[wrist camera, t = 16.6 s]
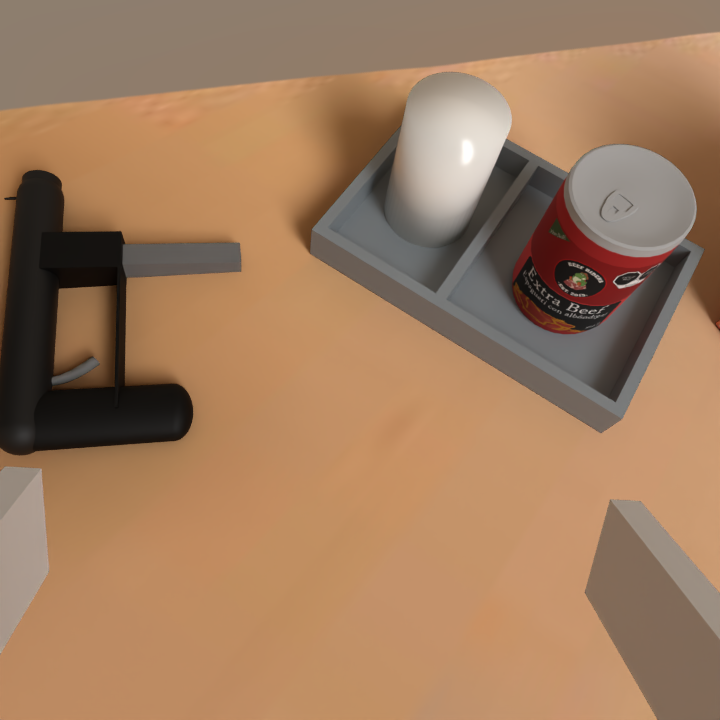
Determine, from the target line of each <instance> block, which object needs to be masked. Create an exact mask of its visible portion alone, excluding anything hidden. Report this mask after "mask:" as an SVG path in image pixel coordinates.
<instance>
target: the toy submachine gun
mask: <svg viewBox="0 0 720 720" xmlns="http://www.w3.org/2000/svg"><path fill="white" fill-rule="evenodd" d="M61 189H62V183H61V181H60V179H59V178H58V177H57V176H55V175H54V174H52V173H49V172H46V171H42V170H33V171H29V172H27V173H25V174H24V175H23V178H22V184H21V185H20V186H19V188H18V191H17V197H9V198H4V199H5V200H16V209H15V219H14V229H13V239H12V249H11V259H10V269H9V279H8V289H7V300H6V310H5V320H4V330H3V340H2V350H1V360H0V448H1V449H3V450H4V451H6V452H7V453H10V454H13V455H27V454H31V453H33V452H35V451H44V450H58V449H71V448H85V447H98V446H112V445H125V444H139V443H152V442H166V441H177V440H179V439H181V438H183V437H184V436H185V435H186V434H187V432H188V431H189V429H190V426H191V423H192V419H193V406H192V401H191V398H190V396H189V394H188V392H187V391H186V390H185V389H184V388H183V387H182V386H180V385H178V384H158V385H140V386H125V330H126V281H127V277H151V276H169V275H187V274H206V273H224V272H241V252H240V243H179V244H125V242H124V239H123V235H122V232H121V231H117V232H62V229H63V213H64V195H63V193H62V190H61ZM113 285H117V311H116V356H115V387H105V388H87V389H70V390H52V386H54V385H59V384H63V383H67V382H69V381H72V380H74V379H76V378H79V377H81V376H82V375H84V374H86V373H88V372H89V371H91V370H92V369H94V368H95V367H97V366H98V365H99V364H100V363H99V362H98V361H97V360H96V359H95V358H94V357H93V356H92V357H91V358H90V359H88V360H87V361H85V362H84V363H82V364H81V365H79V366H77V367H76V368H74V369H72V370H70V371H68V372H66V373H63V374H61V375H58V376H54V377H53V370H54V355H55V339H56V323H57V307H58V292H59V289H60V288H78V287H96V286H113Z"/></svg>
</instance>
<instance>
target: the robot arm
mask: <svg viewBox="0 0 720 720" xmlns="http://www.w3.org/2000/svg"><path fill="white" fill-rule="evenodd" d="M48 573H49V563H48V550H47V537H46V523H45V510H44V497H43V484H42V471H41V468H23V467H4V468H3V469H2V470H1V471H0V654H1V652H2V650H3V649H4V647H5V645H6V644H7V642H8V640H9V639H10V637H11V635H12V634H13V632H14V630H15V628H16V627H17V625H18V623H19V622H20V620H21V618H22V617H23V615H24V613H25V612H26V610H27V608H28V606H29V605H30V603H31V601H32V600H33V598H34V596H35V595H36V593H37V591H38V590H39V588H40V586H41V584H42V583H43V581H44V579H45V578H46V576H47V574H48ZM585 594H586V596H587V597H588V599H589V601H590V603H591V604H592V606H593V608H594V610H595V611H596V613H597V615H598V617H599V618H600V620H601V622H602V624H603V625H604V627H605V629H606V630H607V632H608V634H609V636H610V637H611V639H612V641H613V643H614V644H615V646H616V648H617V650H618V651H619V653H620V655H621V657H622V658H623V660H624V662H625V664H626V665H627V667H628V669H629V671H630V672H631V674H632V676H633V678H634V679H635V681H636V683H637V684H638V686H639V688H640V690H641V691H642V693H643V695H644V697H645V698H646V700H647V702H648V704H649V705H650V707H651V709H652V711H653V712H654V714H655V716H656V718H657V719H658V720H720V593H719V592H718V591H717V590H716V588H715V587H714V586H713V585H712V584H711V583H710V581H709V580H708V579H707V578H706V577H705V576H704V574H703V573H702V572H701V571H700V570H699V569H698V567H697V566H696V565H695V564H694V563H693V562H692V560H691V559H690V558H689V557H688V556H687V555H686V554H685V552H684V551H683V550H682V549H681V548H680V547H679V545H678V544H677V543H676V542H675V541H674V540H673V538H672V537H671V536H670V535H669V534H668V533H667V531H666V530H665V529H664V528H663V527H662V526H661V524H660V523H659V522H658V521H657V520H656V519H655V517H654V516H653V515H652V514H651V513H650V512H649V510H648V509H647V508H646V507H645V506H644V505H643V503H642V502H641V501H630V500H611V499H610V502H609V505H608V509H607V513H606V516H605V520H604V524H603V528H602V531H601V535H600V539H599V542H598V546H597V550H596V553H595V557H594V561H593V564H592V568H591V572H590V575H589V579H588V583H587V586H586V590H585Z"/></svg>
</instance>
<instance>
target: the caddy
mask: <svg viewBox="0 0 720 720" xmlns="http://www.w3.org/2000/svg"><path fill="white" fill-rule="evenodd" d="M401 126H402V125H401ZM401 126H400V127H399V128H398V130H397V131H396V132H395V133H394V134H393V135H392V137H391V138H390V139H389V140H388V141H387V142H386V144H385V145H384V146H383V147H382V148H381V149H380V150H379V152H378V153H377V154H376V155H375V156H374V157H373V159H372V160H371V161H370V162H369V163H368V164H367V166H366V167H365V168H364V169H363V170H362V171H361V173H360V174H359V175H358V176H357V177H356V178H355V180H354V181H353V182H352V183H351V184H350V185H349V187H348V188H347V189H346V190H345V191H344V192H343V194H342V195H341V196H340V197H339V198H338V199H337V200H336V202H335V203H334V204H333V205H332V206H331V207H330V209H329V210H328V211H327V212H326V213H325V214H324V216H323V217H322V218H321V219H320V220H319V221H318V223H317V224H316V225H315V226H314V227H313V228H312V231H311V248H310V254H312V255H313V256H315V257H316V258H318V259H320V260H321V261H323V262H325V263H326V264H328V265H329V266H331V267H333V268H334V269H336V270H338V271H339V272H341V273H342V274H344V275H346V276H347V277H349V278H351V279H352V280H354V281H355V282H357V283H359V284H360V285H362V286H363V287H365V288H367V289H368V290H370V291H372V292H373V293H375V294H376V295H378V296H380V297H381V298H383V299H385V300H386V301H388V302H389V303H391V304H393V305H394V306H396V307H398V308H399V309H401V310H402V311H404V312H406V313H407V314H409V315H410V316H412V317H414V318H415V319H417V320H419V321H420V322H422V323H423V324H425V325H427V326H428V327H430V328H432V329H433V330H435V331H436V332H438V333H440V334H441V335H443V336H445V337H446V338H448V339H449V340H451V341H453V342H454V343H456V344H457V345H459V346H461V347H462V348H464V349H466V350H467V351H469V352H470V353H472V354H474V355H475V356H477V357H479V358H480V359H482V360H483V361H485V362H487V363H488V364H490V365H491V366H493V367H495V368H496V369H498V370H500V371H501V372H503V373H504V374H506V375H508V376H509V377H511V378H513V379H514V380H516V381H517V382H519V383H521V384H522V385H524V386H526V387H527V388H529V389H530V390H532V391H534V392H535V393H537V394H538V395H540V396H542V397H543V398H545V399H547V400H548V401H550V402H551V403H553V404H555V405H556V406H558V407H560V408H561V409H563V410H564V411H566V412H568V413H569V414H571V415H573V416H574V417H576V418H577V419H579V420H581V421H582V422H584V423H585V424H587V425H589V426H590V427H592V428H594V429H595V430H597V431H598V432H600V433H602V432H604V431H605V430H607V429H608V428H610V427H611V426H613V425H614V424H616V423H617V422H618V421H620V420H621V419H622V418H623V416H624V414H625V412H626V410H627V408H628V406H629V404H630V402H631V400H632V398H633V396H634V394H635V392H636V390H637V388H638V386H639V383H640V381H641V379H642V377H643V375H644V373H645V371H646V369H647V367H648V365H649V363H650V361H651V359H652V357H653V355H654V353H655V351H656V349H657V346H658V344H659V342H660V340H661V338H662V336H663V334H664V332H665V330H666V328H667V326H668V324H669V322H670V320H671V318H672V316H673V314H674V312H675V310H676V307H677V305H678V303H679V301H680V299H681V297H682V295H683V293H684V291H685V289H686V287H687V285H688V283H689V281H690V279H691V277H692V275H693V273H694V271H695V268H696V266H697V264H698V262H699V260H700V258H701V256H702V254H703V252H704V250H705V249H703V248H702V247H700V246H698V245H696V244H694V243H693V242H691V241H689V240H687V239H685V238H684V239H683V241H682V242H681V243H680V244H679V245H678V246H677V247H676V248H675V249H674V250H673V252H672V253H671V254H670V255H669V256H668V257H667V258H666V259H665V260H664V261H663V262H662V263H661V264H660V265H659V266H658V267H657V268H656V269H655V270H654V271H653V272H652V273H651V274H650V275H649V277H648V278H647V279H646V280H645V281H644V282H643V283H642V284H641V285H640V286H639V287H638V288H637V289H636V290H635V291H634V292H633V293H632V294H631V295H630V296H629V297H628V298H627V299H626V300H625V301H624V302H623V303H622V304H621V305H620V306H619V307H618V308H617V309H616V310H615V311H614V312H613V313H612V314H611V315H610V316H609V317H608V318H607V319H606V320H605V321H604V322H603V323H601V324H600V325H599V326H597V327H595V328H592V329H590V330H588V331H585V332H581V333H577V334H558V333H553V332H550V331H547V330H545V329H543V328H541V327H539V326H537V325H535V324H534V323H533V322H532V321H530V320H529V319H528V318H527V317H526V316H525V315H524V314H523V313H522V311H521V310H520V308H519V307H518V305H517V303H516V301H515V298H514V295H513V289H512V281H513V270H514V267H515V264H516V262H517V260H518V259H519V257H520V255H521V253H522V252H523V250H524V248H525V247H526V245H527V243H528V241H529V240H530V238H531V236H532V234H533V233H534V231H535V229H536V228H537V226H538V224H539V222H540V221H541V219H542V217H543V216H544V214H545V212H546V210H547V209H548V207H549V205H550V204H551V202H552V200H553V198H554V197H555V195H556V193H557V191H558V190H559V188H560V186H561V185H562V183H563V181H564V180H565V178H566V177H567V175H568V173H567V172H565V171H563V170H561V169H560V168H558V167H556V166H554V165H553V164H551V163H549V162H547V161H545V160H544V159H542V158H540V157H538V156H536V155H535V154H533V153H531V152H529V151H527V150H526V149H524V148H522V147H520V146H518V145H517V144H515V143H513V142H511V141H509V140H508V139H506V140H505V142H504V144H503V147H502V149H501V151H500V154H499V156H498V158H497V161H496V163H495V165H494V168H493V170H492V172H491V174H490V177H489V179H488V181H487V184H486V186H485V188H484V191H483V193H482V195H481V198H480V200H479V202H478V205H477V207H476V209H475V211H474V214H473V216H472V218H471V221H470V223H469V225H468V228H467V230H466V231H465V233H464V234H463V235H462V237H460V238H459V239H458V240H457V241H455V242H454V243H452V244H449V245H447V246H443V247H437V248H427V247H421V246H417V245H414V244H412V243H409V242H407V241H405V240H404V239H402V238H401V237H400V236H398V235H397V234H396V233H395V232H394V231H393V230H392V228H391V227H390V225H389V224H388V222H387V219H386V217H385V212H384V203H385V198H386V194H387V189H388V185H389V180H390V176H391V171H392V167H393V162H394V158H395V153H396V148H397V144H398V139H399V135H400V130H401Z"/></svg>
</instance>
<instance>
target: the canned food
mask: <svg viewBox="0 0 720 720" xmlns="http://www.w3.org/2000/svg"><path fill="white" fill-rule="evenodd" d="M696 212H697V207H696V199H695V196H694V192H693V189H692V187H691V186H690V184H689V182H688V180H687V179H686V177H685V176H684V175H683V174H682V172H681V171H680V170H679V169H678V168H677V167H676V166H675V165H673V164H672V163H671V162H670V161H668V160H667V159H665V158H664V157H662V156H661V155H659V154H657V153H655V152H653V151H651V150H648V149H645V148H642V147H639V146H634V145H628V144H610V145H604V146H600V147H598V148H595V149H592V150H591V151H589V152H587V153H586V154H584V155H583V156H582V157H581V158H580V159H579V160H578V161H577V162H576V164H575V165H574V166H573V167H572V168H571V170H570V172H569V173H568V175H567V177H566V178H565V180H564V181H563V183H562V185H561V186H560V188H559V190H558V191H557V193H556V195H555V197H554V198H553V200H552V202H551V204H550V205H549V207H548V209H547V210H546V212H545V214H544V216H543V217H542V219H541V221H540V222H539V224H538V226H537V228H536V229H535V231H534V233H533V234H532V236H531V238H530V240H529V241H528V243H527V245H526V247H525V248H524V250H523V252H522V253H521V255H520V257H519V259H518V260H517V262H516V264H515V267H514V270H513V281H512V289H513V295H514V298H515V301H516V303H517V305H518V307H519V308H520V310H521V311H522V313H523V314H524V315H525V316H526V317H527V318H528V319H529V320H530V321H532V322H533V323H534V324H535V325H537V326H539V327H541V328H543V329H545V330H547V331H550V332H553V333H558V334H577V333H581V332H585V331H588V330H590V329H592V328H595V327H597V326H599V325H600V324H601V323H603V322H604V321H605V320H606V319H607V318H608V317H609V316H610V315H611V314H612V313H613V312H614V311H615V310H616V309H617V308H618V307H619V306H620V305H621V304H622V303H623V302H624V301H625V300H626V299H627V298H628V297H629V296H630V295H631V294H632V293H633V292H634V291H635V290H636V289H637V288H638V287H639V286H640V285H641V284H642V283H643V282H644V281H645V280H646V279H647V278H648V277H649V275H650V274H651V273H652V272H653V271H654V270H655V269H656V268H657V267H658V266H659V265H660V264H661V263H662V262H663V261H664V260H665V259H666V258H667V257H668V256H669V255H670V254H671V253H672V252H673V250H674V249H675V248H676V247H677V246H678V245H679V244H680V243H681V242H682V241H683V239H684V238H685V237H686V236H687V234H688V233H689V231H690V230H691V228H692V226H693V224H694V222H695V218H696Z"/></svg>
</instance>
